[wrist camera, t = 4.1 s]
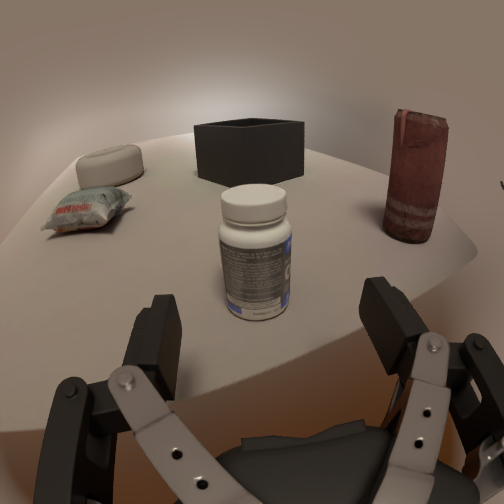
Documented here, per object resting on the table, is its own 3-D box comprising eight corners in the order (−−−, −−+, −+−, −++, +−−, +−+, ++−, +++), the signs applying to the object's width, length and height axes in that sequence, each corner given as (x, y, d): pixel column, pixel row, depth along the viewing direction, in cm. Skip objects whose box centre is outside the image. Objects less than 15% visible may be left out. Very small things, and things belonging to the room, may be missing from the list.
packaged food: (111, 237, 32) (102, 198, 29) (43, 242, 32) (33, 209, 30) (135, 209, 39) (129, 177, 37) (72, 216, 40) (65, 188, 37)
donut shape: (67, 193, 52) (61, 164, 49) (110, 171, 64) (106, 146, 61) (113, 192, 48) (107, 157, 45) (157, 169, 60) (153, 140, 57)
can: (370, 228, 31) (382, 105, 24) (400, 217, 34) (412, 110, 27) (412, 250, 27) (433, 114, 20) (437, 236, 29) (457, 120, 22)
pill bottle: (299, 313, 20) (306, 200, 16) (234, 328, 19) (222, 212, 15) (276, 277, 24) (276, 178, 20) (220, 288, 23) (209, 186, 19)
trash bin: (253, 163, 59) (251, 118, 54) (303, 175, 50) (304, 121, 45) (198, 177, 52) (193, 125, 47) (246, 192, 43) (242, 127, 38)
